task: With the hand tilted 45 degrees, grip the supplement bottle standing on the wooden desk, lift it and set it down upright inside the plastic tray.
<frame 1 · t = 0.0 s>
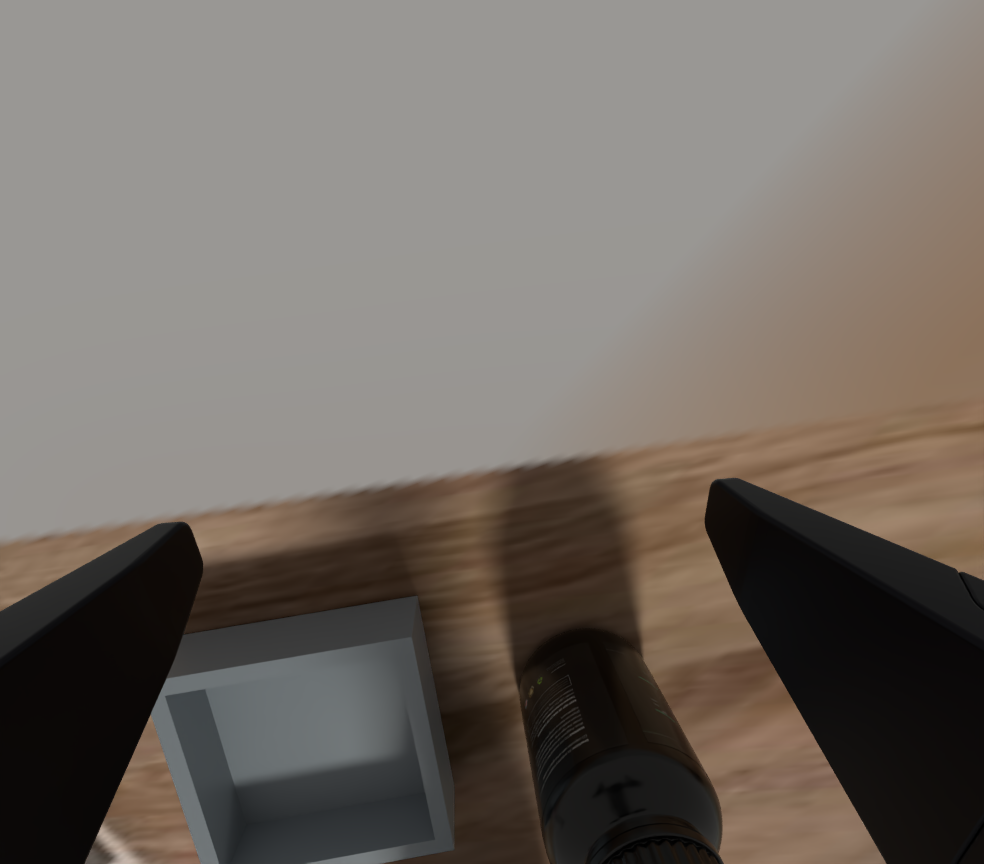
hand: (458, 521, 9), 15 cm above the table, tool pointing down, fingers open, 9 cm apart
tray: (325, 714, 27), on the table
supplement bottle: (580, 679, 28), on the table
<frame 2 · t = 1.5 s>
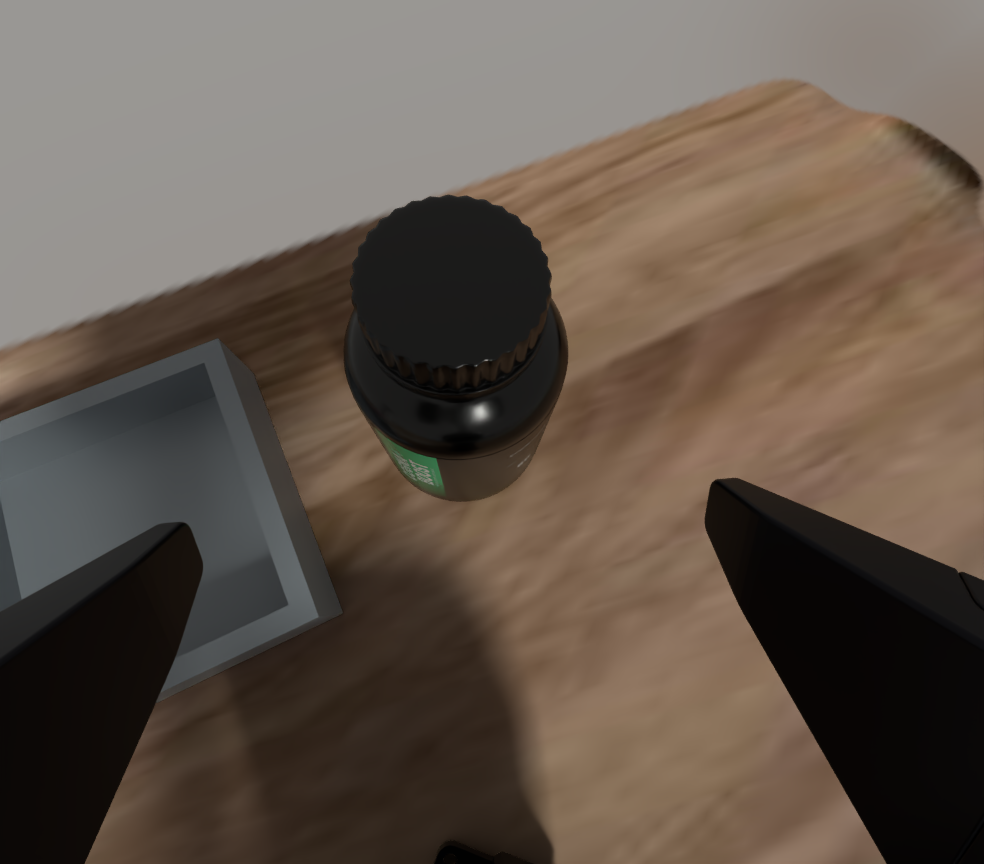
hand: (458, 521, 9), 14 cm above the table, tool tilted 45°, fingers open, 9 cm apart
tray: (161, 543, 22), on the table
supplement bottle: (462, 430, 24), on the table
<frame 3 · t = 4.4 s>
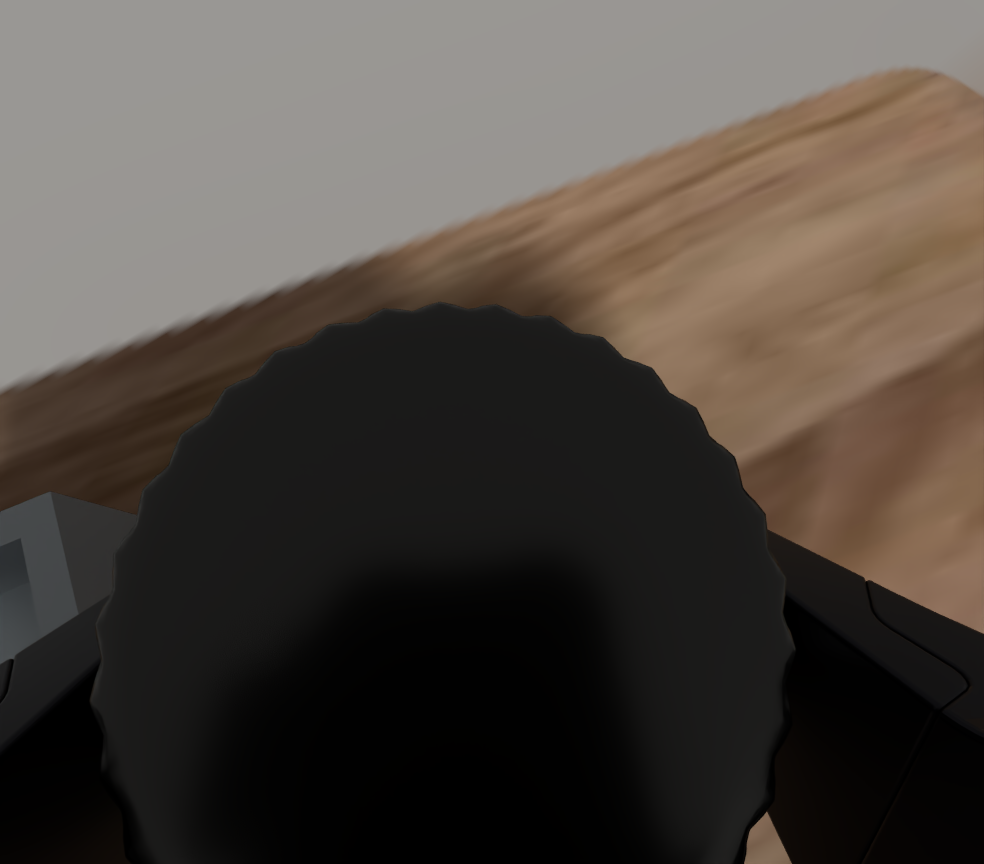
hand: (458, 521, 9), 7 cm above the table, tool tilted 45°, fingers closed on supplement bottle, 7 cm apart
supplement bottle: (470, 606, 15), on the table, touching gripper
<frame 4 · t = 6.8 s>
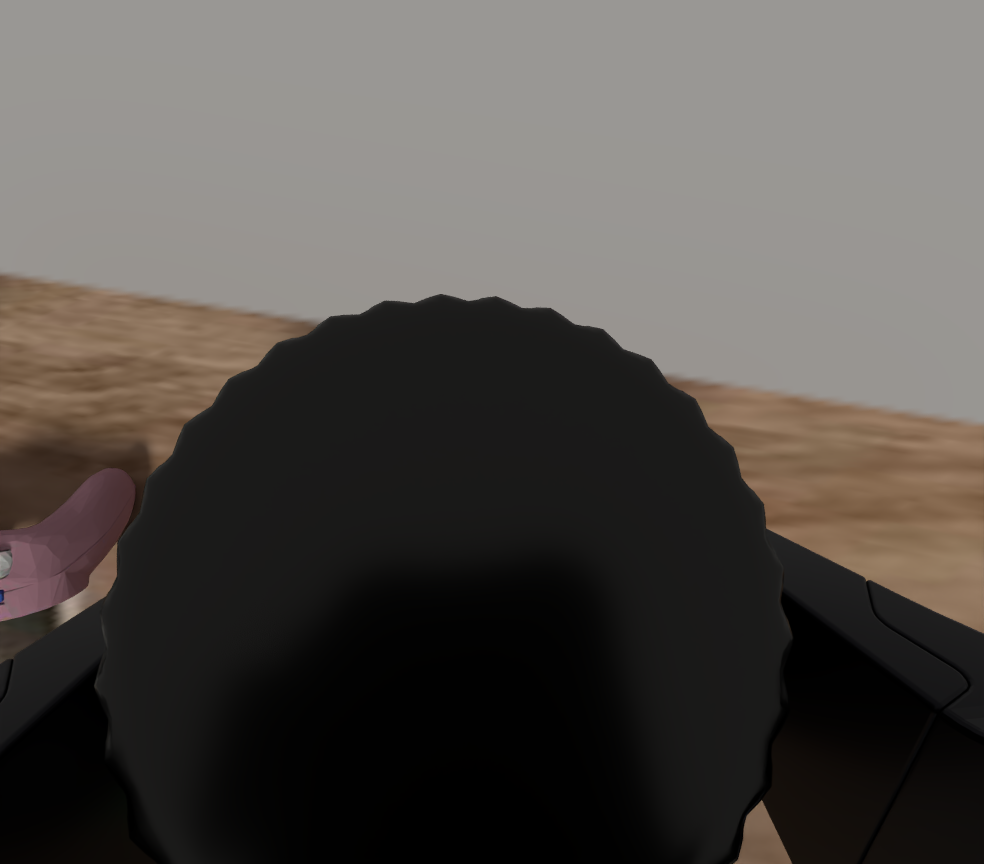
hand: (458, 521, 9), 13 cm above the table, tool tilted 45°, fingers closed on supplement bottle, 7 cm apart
video game controller: (24, 553, 22), on the table
supplement bottle: (472, 603, 15), point 7 cm above the table, touching gripper
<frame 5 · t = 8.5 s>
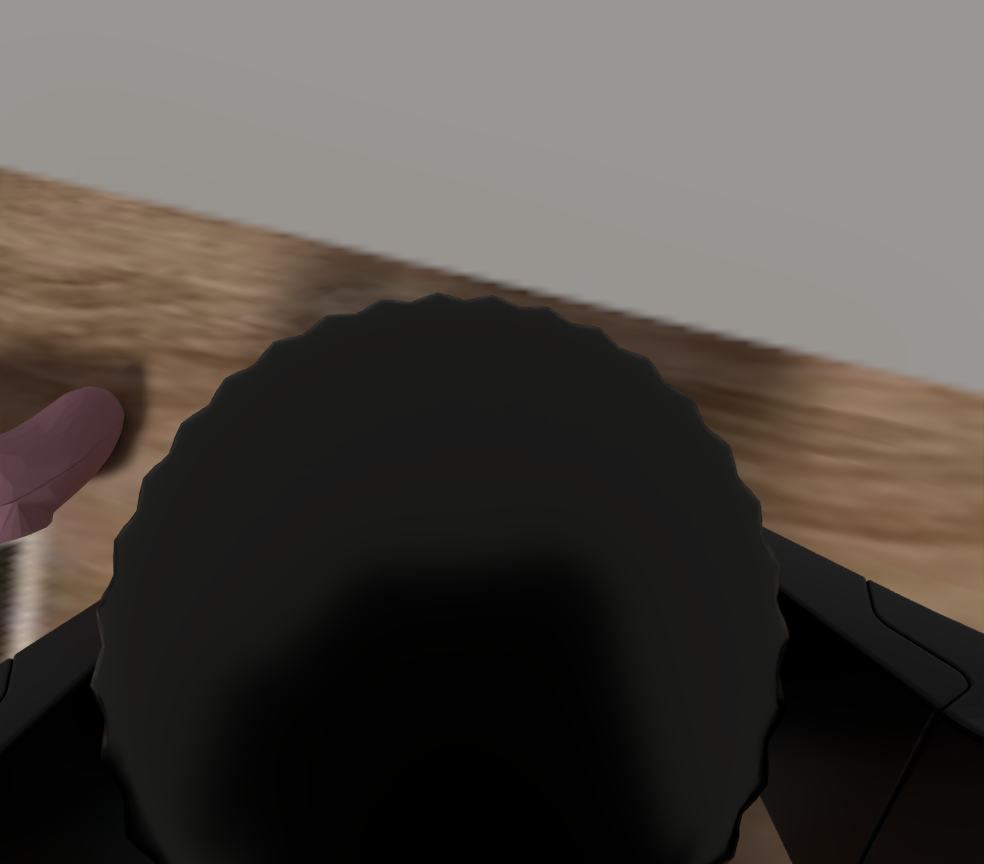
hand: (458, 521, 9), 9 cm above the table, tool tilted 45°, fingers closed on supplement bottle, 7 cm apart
supplement bottle: (471, 602, 15), point 2 cm above the table, touching gripper
when the fingers open (9 cm above the table, at t = 9.0 s): supplement bottle drops 1 cm, resting on tray.
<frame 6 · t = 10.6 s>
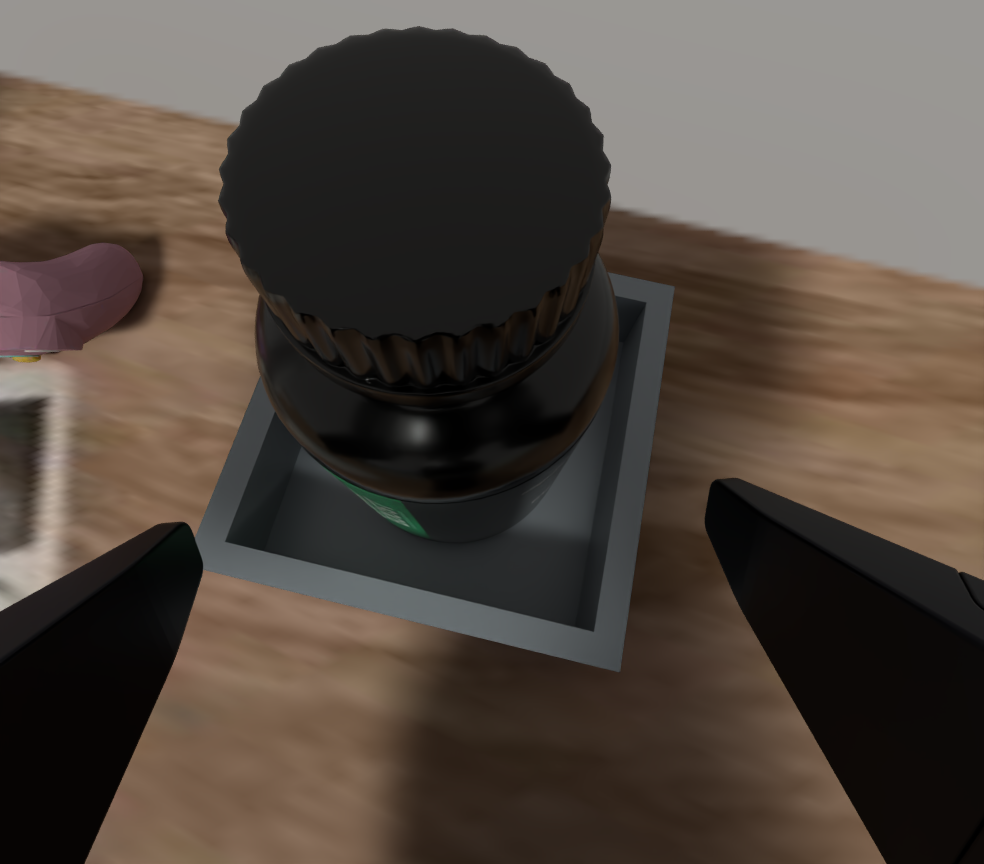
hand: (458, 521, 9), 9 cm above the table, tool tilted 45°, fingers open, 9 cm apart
video game controller: (17, 337, 20), on the table
tray: (457, 445, 19), on the table
supplement bottle: (457, 444, 18), point 1 cm above the table, touching tray
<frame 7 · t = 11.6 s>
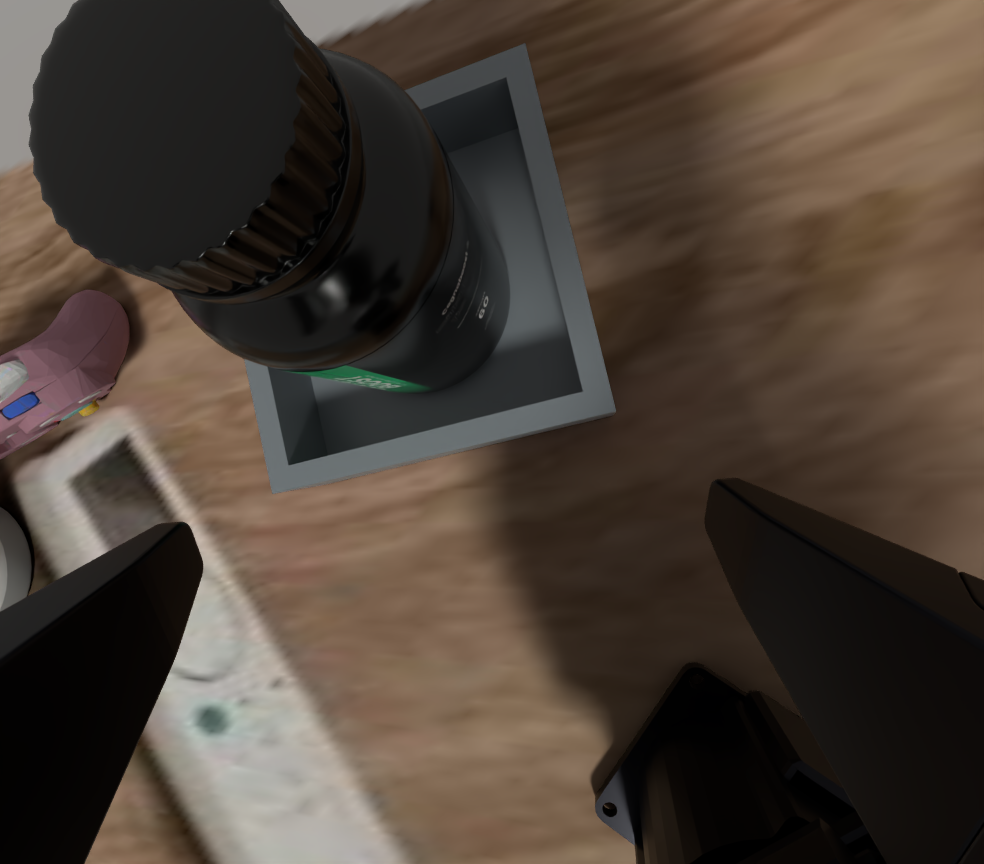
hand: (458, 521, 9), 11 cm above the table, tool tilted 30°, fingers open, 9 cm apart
video game controller: (76, 400, 24), on the table
tray: (427, 305, 20), on the table
supplement bottle: (424, 304, 20), point 1 cm above the table, touching tray
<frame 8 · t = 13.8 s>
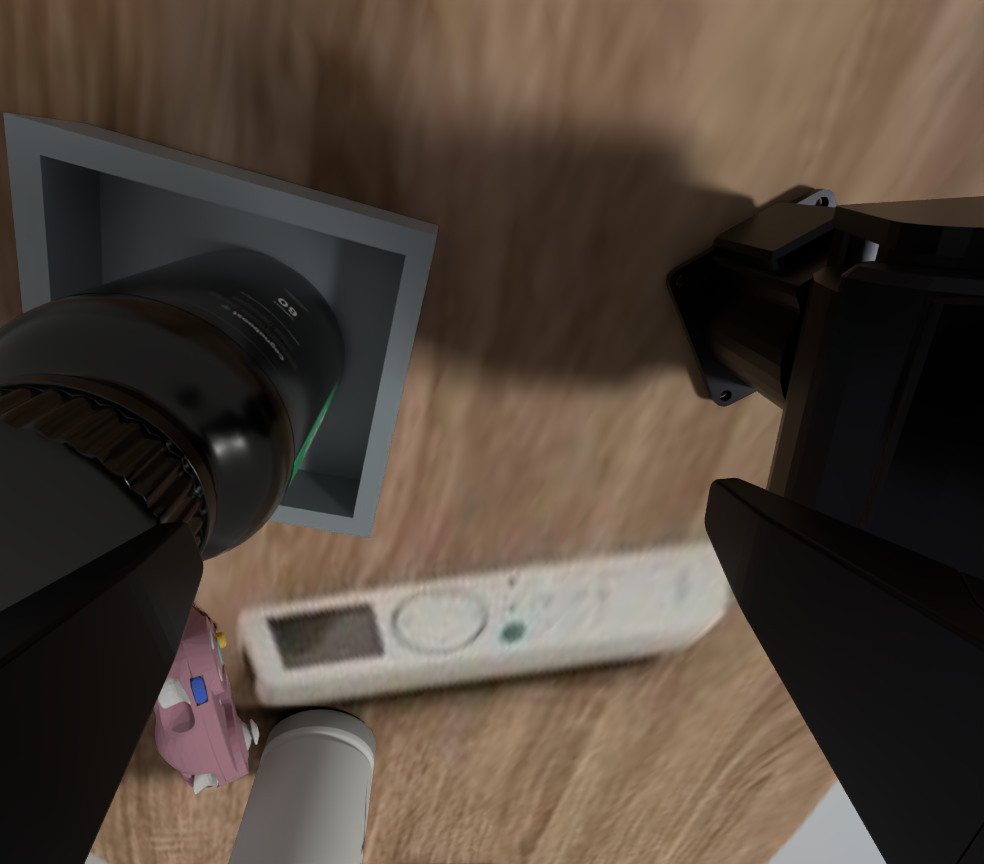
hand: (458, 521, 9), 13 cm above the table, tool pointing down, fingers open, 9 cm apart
video game controller: (209, 645, 28), on the table
tray: (257, 337, 20), on the table
travel mug: (322, 740, 31), on the table
supplement bottle: (256, 341, 20), point 1 cm above the table, touching tray
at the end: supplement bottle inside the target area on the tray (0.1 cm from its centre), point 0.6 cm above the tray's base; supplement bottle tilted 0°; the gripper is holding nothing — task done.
